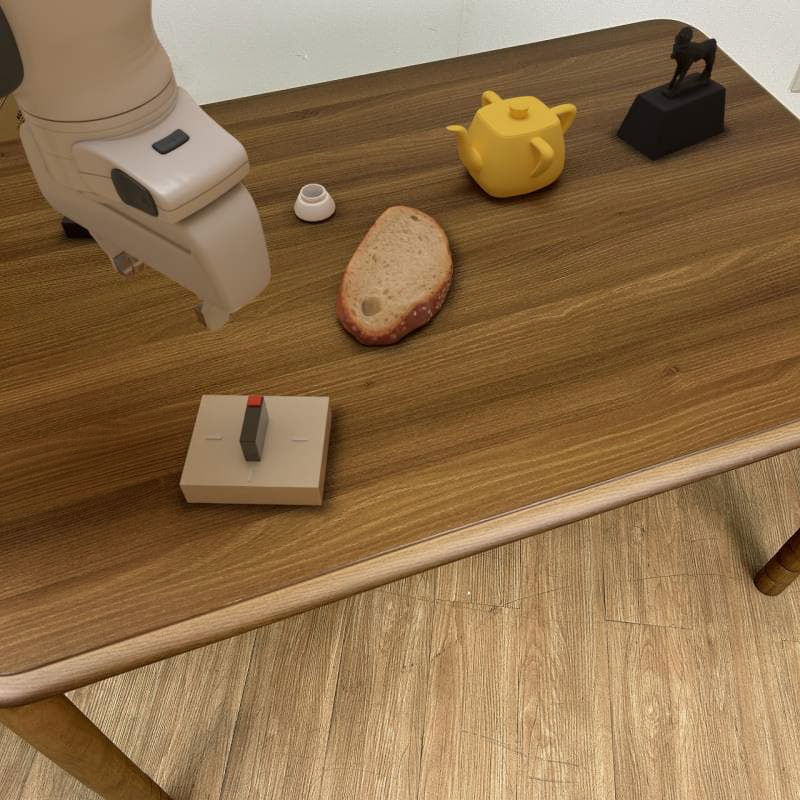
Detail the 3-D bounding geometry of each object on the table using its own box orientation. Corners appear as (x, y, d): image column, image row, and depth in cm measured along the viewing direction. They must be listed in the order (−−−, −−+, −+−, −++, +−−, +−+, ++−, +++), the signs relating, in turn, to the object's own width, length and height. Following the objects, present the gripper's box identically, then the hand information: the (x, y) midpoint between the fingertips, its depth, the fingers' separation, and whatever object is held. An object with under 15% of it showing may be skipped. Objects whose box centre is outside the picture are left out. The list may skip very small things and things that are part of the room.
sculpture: (612, 132, 102) (638, 20, 90) (686, 106, 106) (720, -4, 94) (651, 161, 98) (683, 47, 86) (727, 133, 102) (767, 20, 90)
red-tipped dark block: (260, 461, 65) (254, 440, 62) (245, 461, 65) (238, 439, 63) (269, 416, 68) (263, 394, 66) (254, 416, 68) (247, 393, 66)
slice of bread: (412, 209, 92) (412, 183, 89) (503, 291, 83) (506, 265, 80) (284, 263, 86) (279, 238, 83) (366, 359, 76) (364, 333, 74)
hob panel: (187, 502, 66) (178, 483, 64) (209, 414, 72) (202, 393, 70) (321, 505, 66) (318, 486, 63) (331, 416, 72) (329, 395, 69)
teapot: (541, 222, 90) (553, 147, 82) (442, 198, 93) (445, 122, 85) (571, 162, 98) (586, 88, 90) (479, 141, 101) (485, 68, 93)
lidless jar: (330, 225, 90) (338, 200, 93) (328, 205, 88) (337, 180, 91) (290, 222, 91) (300, 197, 94) (287, 202, 89) (297, 177, 92)
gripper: (-32, 97, 47) (52, 263, 58) (185, 214, 39) (235, 382, 50) (51, 57, 51) (116, 222, 61) (268, 158, 42) (299, 328, 53)
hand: (171, 295), depth 56 cm, fingers open, 8 cm apart
